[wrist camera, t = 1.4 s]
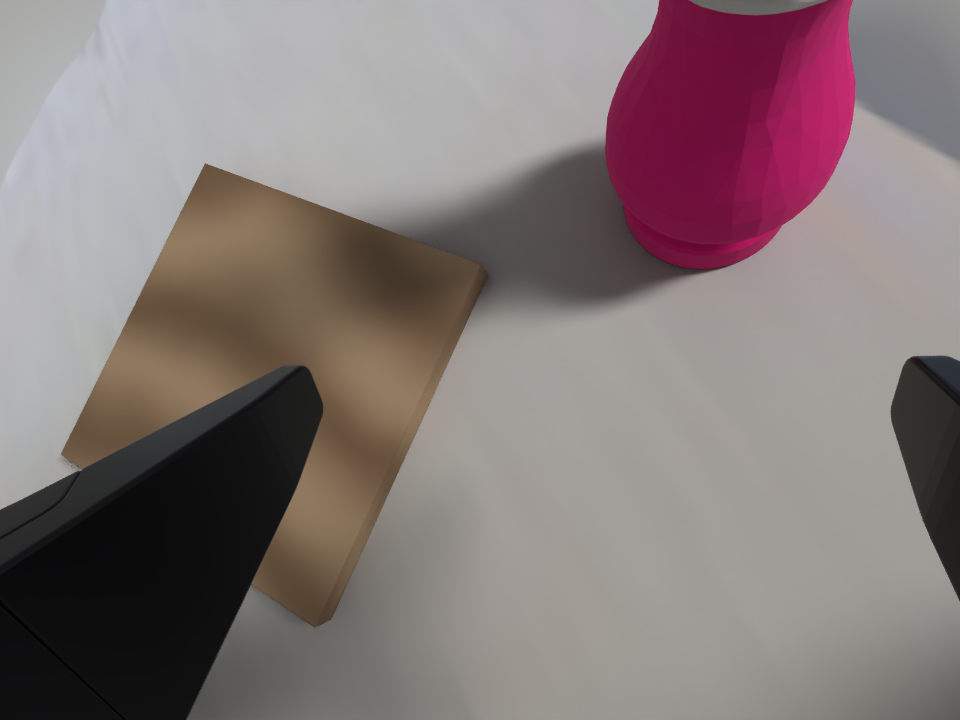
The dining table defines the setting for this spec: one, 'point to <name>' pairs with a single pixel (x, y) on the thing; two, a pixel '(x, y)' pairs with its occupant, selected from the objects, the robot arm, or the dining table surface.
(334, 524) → the walnut board
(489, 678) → the dining table surface
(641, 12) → the dining table surface
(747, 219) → the pepper mill
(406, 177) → the dining table surface
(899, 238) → the dining table surface
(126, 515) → the robot arm
